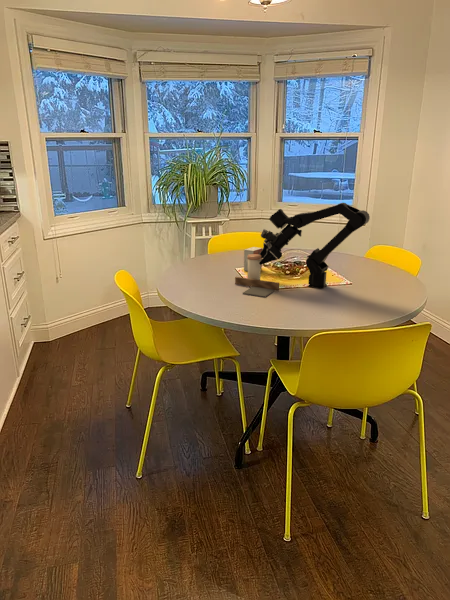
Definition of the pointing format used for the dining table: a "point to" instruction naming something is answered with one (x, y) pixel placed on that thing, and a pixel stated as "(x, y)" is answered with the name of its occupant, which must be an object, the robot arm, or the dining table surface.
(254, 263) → the canister
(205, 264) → the dining table surface
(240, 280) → the wall
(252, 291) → the mat
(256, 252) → the small box
